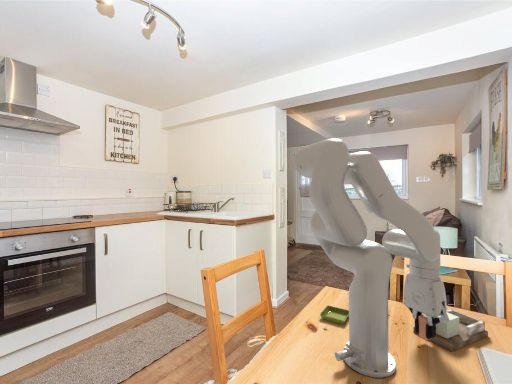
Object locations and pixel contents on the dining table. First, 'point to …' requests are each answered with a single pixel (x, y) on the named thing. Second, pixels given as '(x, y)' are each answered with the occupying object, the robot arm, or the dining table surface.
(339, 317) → the green tray
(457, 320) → the joined block piece
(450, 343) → the shelf
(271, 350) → the dining table surface
